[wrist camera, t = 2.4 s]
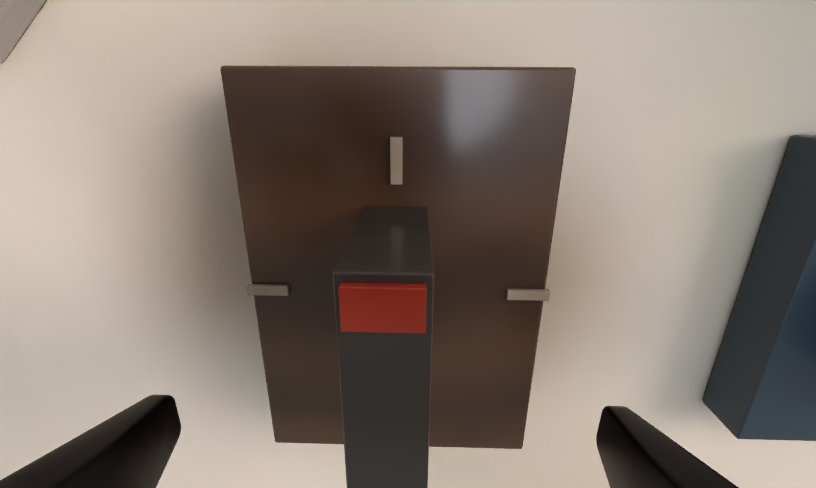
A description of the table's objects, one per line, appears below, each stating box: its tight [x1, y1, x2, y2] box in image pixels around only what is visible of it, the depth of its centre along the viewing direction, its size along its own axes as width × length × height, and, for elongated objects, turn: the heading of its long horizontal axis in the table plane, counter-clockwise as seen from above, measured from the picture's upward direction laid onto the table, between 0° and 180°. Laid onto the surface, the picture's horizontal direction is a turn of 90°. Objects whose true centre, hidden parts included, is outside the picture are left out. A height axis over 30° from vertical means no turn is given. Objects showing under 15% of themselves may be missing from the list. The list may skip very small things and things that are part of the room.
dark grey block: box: [333, 206, 434, 488], centre depth 11 cm, size 6×2×5 cm, turn 0°
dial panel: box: [221, 66, 576, 449], centre depth 15 cm, size 14×10×3 cm
